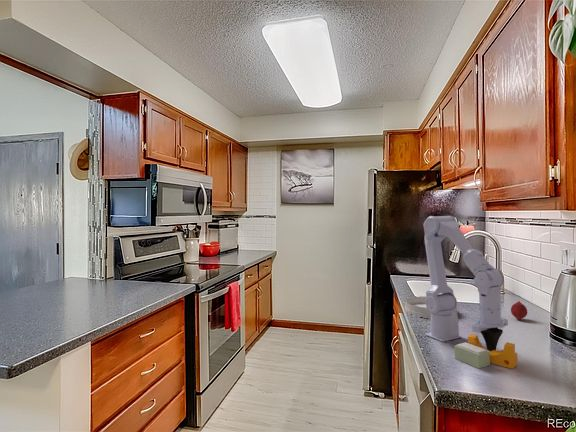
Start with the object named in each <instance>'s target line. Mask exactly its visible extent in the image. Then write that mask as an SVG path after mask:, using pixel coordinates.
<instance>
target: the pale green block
mask: <svg viewBox="0 0 576 432" xmlns="http://www.w3.org/2000/svg"><path fill="white" fill-rule="evenodd" d="M486 349H487V348H486ZM486 349H483V348H480V347H477V346H475V345H472V344H469V343H468V342H462V343H458V344H456V345H454V359H456V360H457V361H460V362H463V363H465V364H467V365H470V366H471V367H474V368H476V369H482V368H485V367H489V366H491V365H490V364H491V363H490V352H489V351H487V350H486Z"/></svg>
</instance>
